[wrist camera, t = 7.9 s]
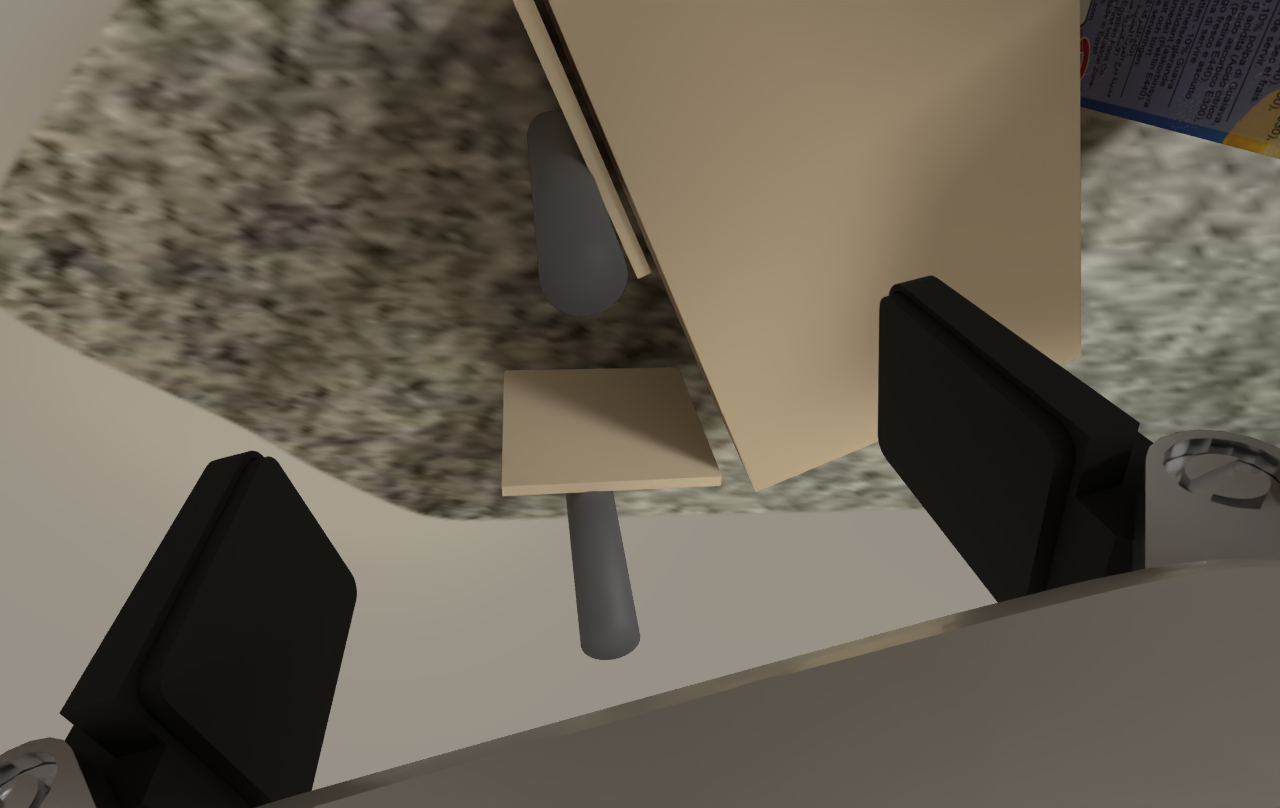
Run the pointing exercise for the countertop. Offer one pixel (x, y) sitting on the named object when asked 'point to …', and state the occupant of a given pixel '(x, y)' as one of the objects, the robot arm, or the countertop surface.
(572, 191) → the flap
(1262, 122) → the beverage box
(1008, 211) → the wooden cabinet
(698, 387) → the countertop surface
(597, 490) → the flap
